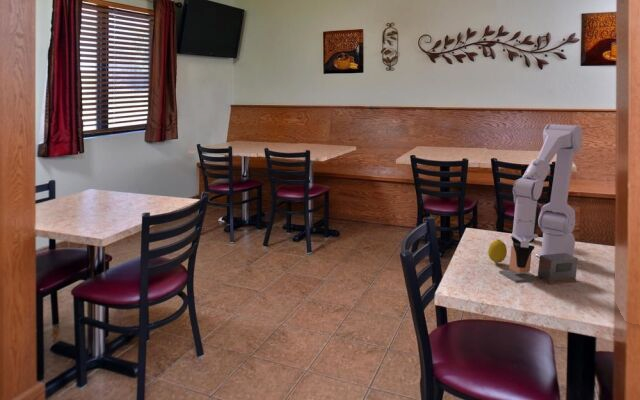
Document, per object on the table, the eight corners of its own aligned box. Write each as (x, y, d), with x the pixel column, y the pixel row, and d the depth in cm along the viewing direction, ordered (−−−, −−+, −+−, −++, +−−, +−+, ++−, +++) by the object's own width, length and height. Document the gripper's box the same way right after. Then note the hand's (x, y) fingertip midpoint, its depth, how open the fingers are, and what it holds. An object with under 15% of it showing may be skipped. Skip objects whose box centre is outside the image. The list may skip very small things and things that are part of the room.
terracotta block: (519, 267, 155) (522, 244, 153) (529, 271, 151) (532, 248, 149) (509, 268, 153) (511, 246, 152) (519, 273, 149) (521, 250, 148)
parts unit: (562, 274, 154) (565, 252, 152) (576, 281, 149) (579, 258, 147) (536, 277, 152) (538, 254, 150) (549, 284, 146) (551, 261, 145)
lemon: (506, 267, 160) (509, 242, 158) (488, 265, 161) (490, 241, 159) (504, 261, 165) (506, 237, 164) (486, 260, 166) (488, 236, 165)
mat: (522, 270, 157) (522, 268, 157) (539, 279, 150) (539, 277, 150) (499, 272, 155) (499, 270, 155) (515, 282, 148) (515, 280, 148)
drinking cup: (512, 237, 192) (516, 184, 188) (531, 236, 193) (536, 184, 188) (521, 243, 185) (526, 189, 180) (542, 242, 185) (547, 188, 181)
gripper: (542, 226, 141) (537, 273, 144) (536, 214, 154) (532, 257, 157) (515, 224, 143) (510, 270, 146) (511, 212, 156) (507, 255, 159)
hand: (520, 263), depth 152 cm, fingers closed on terracotta block, 6 cm apart
